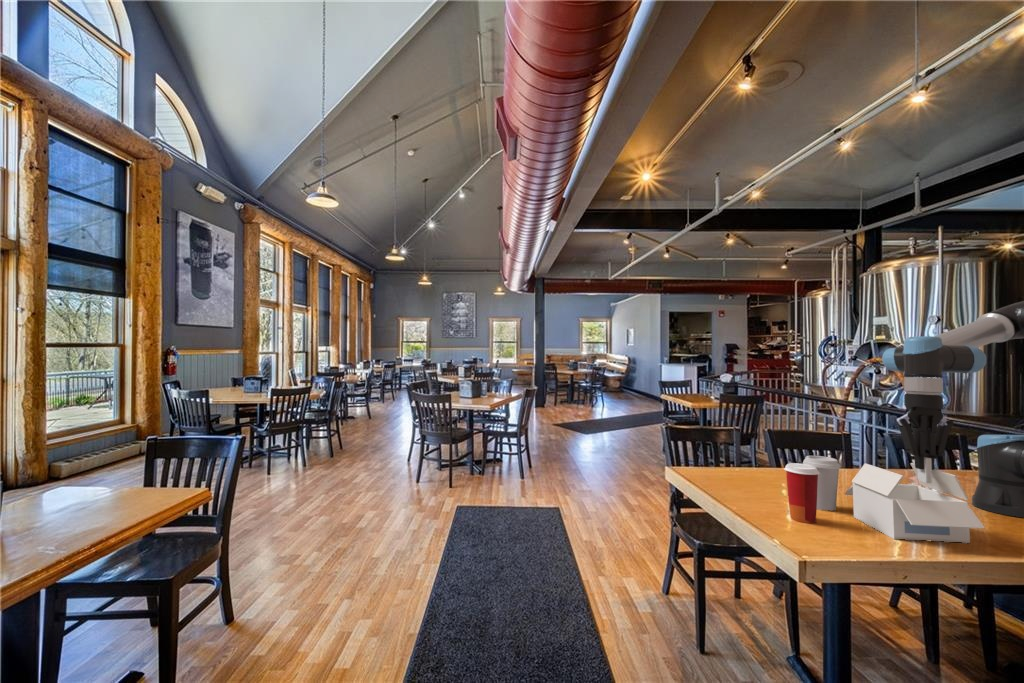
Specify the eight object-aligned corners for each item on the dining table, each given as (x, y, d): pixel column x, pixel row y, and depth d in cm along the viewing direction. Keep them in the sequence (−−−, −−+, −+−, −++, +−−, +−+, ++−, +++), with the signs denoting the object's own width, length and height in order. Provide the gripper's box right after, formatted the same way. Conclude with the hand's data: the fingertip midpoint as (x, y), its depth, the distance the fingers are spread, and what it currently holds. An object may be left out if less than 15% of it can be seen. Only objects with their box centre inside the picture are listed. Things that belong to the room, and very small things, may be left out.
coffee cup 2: (832, 503, 133) (830, 456, 134) (849, 514, 124) (847, 462, 125) (798, 501, 136) (797, 454, 136) (812, 511, 126) (810, 460, 127)
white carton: (905, 515, 124) (904, 480, 124) (989, 552, 99) (987, 508, 100) (842, 512, 126) (841, 477, 126) (909, 547, 101) (908, 504, 102)
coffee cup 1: (817, 517, 121) (815, 464, 122) (824, 526, 114) (822, 470, 115) (782, 512, 125) (781, 461, 126) (787, 521, 118) (786, 467, 118)
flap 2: (921, 485, 119) (922, 484, 119) (967, 500, 105) (968, 499, 105) (910, 463, 119) (911, 462, 119) (954, 475, 106) (955, 475, 106)
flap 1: (866, 464, 121) (864, 463, 121) (904, 476, 107) (902, 475, 107) (852, 482, 121) (851, 481, 121) (888, 496, 108) (887, 495, 108)
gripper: (937, 393, 117) (939, 479, 116) (886, 391, 119) (887, 476, 117) (962, 395, 109) (965, 487, 108) (907, 393, 111) (909, 484, 110)
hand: (924, 481), depth 113 cm, fingers closed
